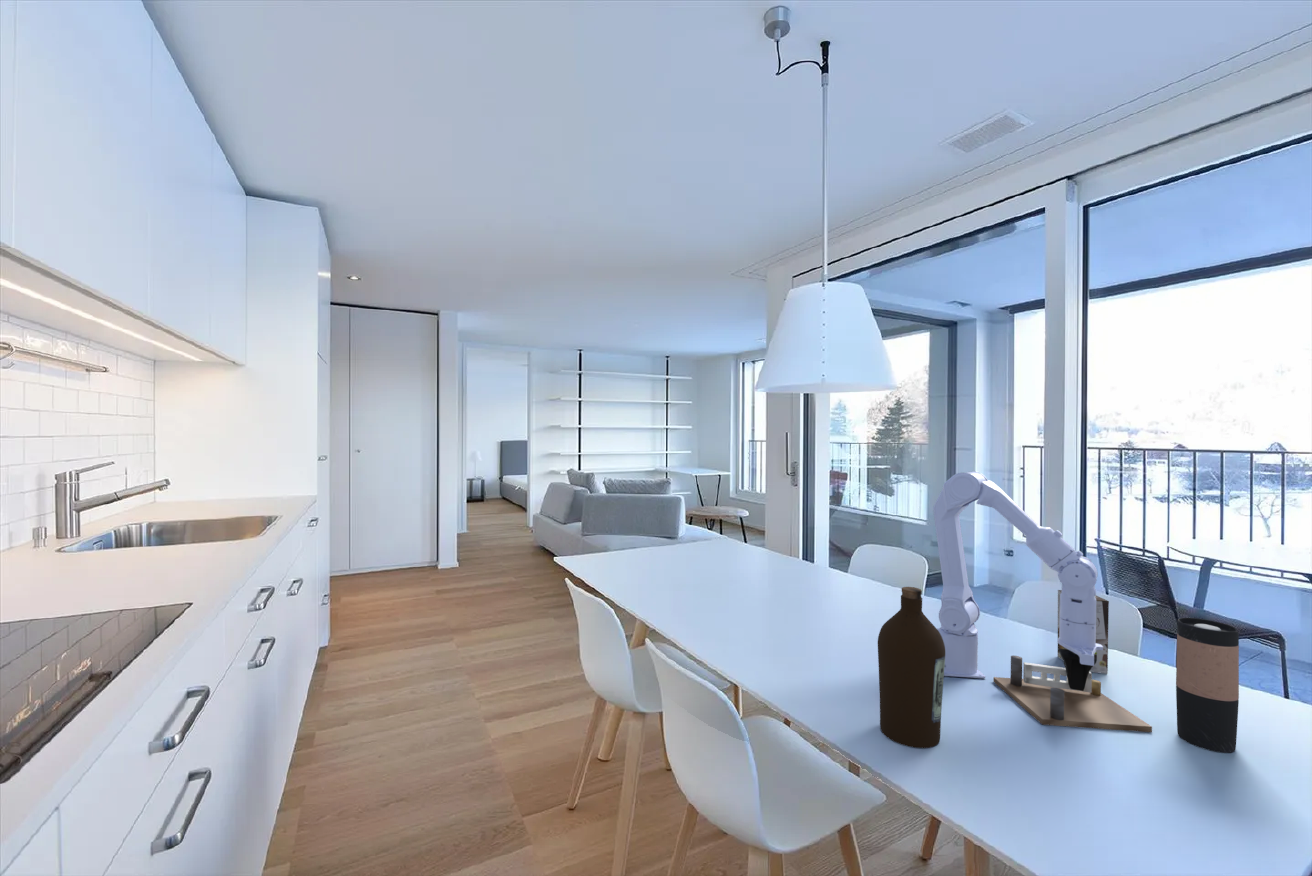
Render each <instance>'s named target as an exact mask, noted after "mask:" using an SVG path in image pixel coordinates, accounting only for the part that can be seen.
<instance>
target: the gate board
mask: <svg viewBox="0 0 1312 876" xmlns="http://www.w3.org/2000/svg"><path fill="white" fill-rule="evenodd" d="M994 682H995V683H994ZM993 683H994V684H995V685H996V686H997V687H999V688H1000V689H1001V690H1002V691H1003V690H1004V691H1003V692H1004V693H1006V694H1007V695H1008V696H1009V697H1010V698H1011V697H1012V698H1013V701H1014V702H1016V703H1017V704H1018V705H1019V706H1020V707H1022V708H1023V710H1025V711H1026V712H1027V713H1028V714H1030V716H1032V718H1034V719H1035V720H1036V721H1038V722H1039V723H1040V724H1041V725H1042V726H1043V725H1044V726H1057V727H1071V728H1085V729H1097V730H1098V729H1099V730H1111V731H1113V730H1114V731H1130V732H1138V733H1139V732H1142V733H1153V726H1152V725H1150V724H1149V723H1147V721H1144V720H1143V719H1141V718H1140V717H1139V716H1136V715H1135V714H1134V713H1132V712H1131V711H1129V710H1128V709H1126V708H1124V707H1123V706H1121V705H1120V704H1118V703H1117V702H1115V701H1114V700H1112V699H1111V698H1110V697H1108V696H1106V695H1105V694H1103V693H1102V692H1101V691H1102V682H1101V681H1100V680H1097V679H1092V693H1090V692H1083V691H1076V690H1069V689H1062V688H1055V687H1049V686H1042V685H1035V684H1028V683H1025V682H1024V681H1023V657H1021V656H1019V655H1010V677H999V676H998V677H997V676H994V677H993ZM1012 698H1011V699H1012Z"/></svg>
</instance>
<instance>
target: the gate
mask: <svg viewBox="0 0 1312 876" xmlns="http://www.w3.org/2000/svg"><path fill="white" fill-rule="evenodd" d="M1034 672H1036V673H1040V676H1034V675H1033V673H1034ZM1048 674H1050V675H1053V678H1049V677H1048ZM1061 676H1063V677H1067V673H1066V669H1065V667H1061V666H1056V665H1049V664H1048V665H1046V664H1038V663H1033V662H1023V673H1022V679H1023V681H1024V682H1025V683H1028V684H1035V685H1042V686H1049V687H1055V688H1062V689H1069V690H1074V689H1070V687H1069V684H1068V679H1067V678H1066V680H1063V679H1061ZM1092 678H1093V672H1089V674H1088V677H1087V680H1086V684H1085V688H1084V690H1083V692H1090V693H1092V680H1093V679H1092ZM1076 691H1080V690H1076Z"/></svg>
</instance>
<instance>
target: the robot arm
mask: <svg viewBox="0 0 1312 876" xmlns="http://www.w3.org/2000/svg"><path fill="white" fill-rule="evenodd" d="M935 500H936V501H935V502H934V504H933V510H932V512H933V517H934V518H933V520H934V527H935V534H936V540H937V542H936V543H937V549H938V557H939V563H940V572H941V578H942V584H943V585H942V592H941V596H940V602H941V606H940V609H939V612H938V620H939V622H940V627H938V628H936V629H937V630H938V631H939V632H940V634H941V636H942V638H943V642H944V645H945V667H944V677H958V678H972V679H973V678H974V679H986V675H985V674H984V673H983V672H982V671H980V670H979V669H978V656H979V655H978V652H979V651H978V648H979V647H978V645H979V643H978V642H979V630H978V629H977V626H976V625H975V623H976V622H977V621H978V620H979V618H980V617H981V610H980V606H979V605H978V603H977V602H976V601H975V598H974V595H973V594H974V592H973V590H972V588H971V586H970V584H969V579H968V577H969V576H968V571H967V570H968V569H967V563H966V555H965V548H964V542H963V534H962V528H961V527H962V526H961V519H960V514H961V513H962V512H963V511H964V510H965V509H966V508H967V507H968V506H969V505H970V504H971V503H973V502H975V501H976V505H981V506H984V507H989V508H992V509H994V510H995V511H997V513H999V514H1000V515H1001V516H1002V517H1004V518H1005V520H1007V521H1008V522H1009V523H1010V524H1011V525H1012V526H1013V527H1015V528H1016V529H1017V530H1018V531H1019V532H1020V533H1021V534H1022V535H1024V536H1025V546H1026V547H1027V548H1029V549H1030V550H1031V551H1032V552H1033V553H1034V555H1036V556H1037V557H1038V558H1039V559H1040V560H1041V561H1043V562H1044V563H1045V564H1046V565H1047V566H1048V567H1049V568H1050V569H1051V570H1052V571H1055V572H1057V577H1058V580H1059V582H1060V584H1061V590H1062V592H1061V594H1060V628H1059V638H1058V637H1057V644H1058V643H1059V644H1060V645H1061V646H1063V647H1065V648H1066V649H1058V648H1057V652H1058V651H1059V653H1060V655H1061V657H1062V659H1063V660H1062V659H1061V660H1062V662H1063V665H1064V668H1065V669H1066V673H1067V676H1066V680H1067V679H1068V684H1069V687H1070V689H1074V690H1080V691H1083V690H1084V688H1085V684H1086V680H1087V677H1088V674H1089V672H1090V670H1091V668H1092V667H1093V666H1094V664H1095V663H1096V661H1097V659H1096V658H1095V656H1094V654H1095V652H1096V650H1103V646H1102V645H1101V644H1097V643H1096V598H1095V595H1096V596H1097V590H1096V583H1097V581H1098V580H1097V579H1098V569H1097V567H1096V565H1095V564H1094V563H1093V562H1092V559H1090V558H1088V557H1086V556H1084V553H1083V552H1082V551H1081V550H1078V551H1077V550H1076V549H1075V548H1074V547H1073V546H1071V544H1069V543H1068V541H1066V540H1065V539H1064V538H1063V537H1062V536H1063V533H1062V532H1061V531H1060V530H1058V529H1056V530H1054V529H1053V528H1052V527H1049V526H1042V525H1039V524H1038V523H1036V522H1035V520H1034V519H1033V518H1032V517H1030V516H1029V515H1028V513H1027V512H1026V511H1024V509H1022V508H1021V507H1020V506H1019V505H1018V504H1017V503H1016V502H1015V501H1014V500H1013V499H1012V498H1011V497H1010V496H1009V495H1008V494H1007V493H1006V492H1005V491H1004V490H1003V489H1002V488H1001V487H999V486H998V485H997V484H996V483H995V482H993V480H988V478H987V477H986V475H984V474H983V473H981V472H980V471H975V470H972V471H964V472H962V471H961V472H957V473H955V474H953V475H952V476H951V477H950V478H949V479H947V480H946V481H945V482H943V485H942V489H941V491H940V492H939V494H938V497H937V499H935ZM1067 649H1068V650H1067Z"/></svg>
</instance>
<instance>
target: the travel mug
mask: <svg viewBox="0 0 1312 876" xmlns="http://www.w3.org/2000/svg"><path fill="white" fill-rule="evenodd" d="M1176 633H1177V634H1176V637H1177V639H1176V665H1175V668H1176V671H1175V694H1176V695H1175V696H1176V697H1175V698H1176V699H1175V700H1176V729H1177V736H1178V738H1180V739H1181V740H1183V741H1184V742H1186V743H1188V744H1190V745H1193V746H1195V747H1197V748H1201V749H1204V750H1207V751H1210V752H1216V753H1221V754H1223V753H1224V754H1229V753H1230V754H1231V753H1234V752H1235V751H1236V748H1237V738H1238V737H1237V734H1238V719H1239V716H1238V715H1239V698H1240V693H1239V692H1240V690H1239V689H1240V680H1239V679H1240V674H1239V673H1240V669H1239V667H1240V663H1239V662H1240V660H1239V659H1240V655H1239V654H1240V653H1239V651H1240V649H1239V648H1240V646H1239V645H1240V644H1239V643H1240V633H1239V632H1238V629H1237V628H1236V627H1235V626H1233V625H1231V624H1226V623H1224V622H1219V621H1215V620H1209V619H1205V618H1198V617H1197V618H1195V617H1180V618H1178V619H1177V631H1176Z"/></svg>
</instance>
